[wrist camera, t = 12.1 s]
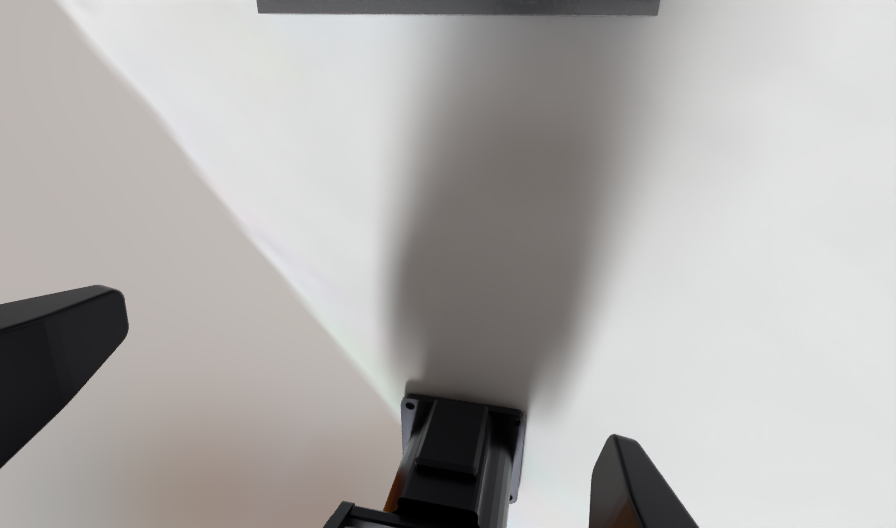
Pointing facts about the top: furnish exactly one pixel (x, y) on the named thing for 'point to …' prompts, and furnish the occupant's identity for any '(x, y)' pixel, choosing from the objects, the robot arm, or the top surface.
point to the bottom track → (463, 7)
